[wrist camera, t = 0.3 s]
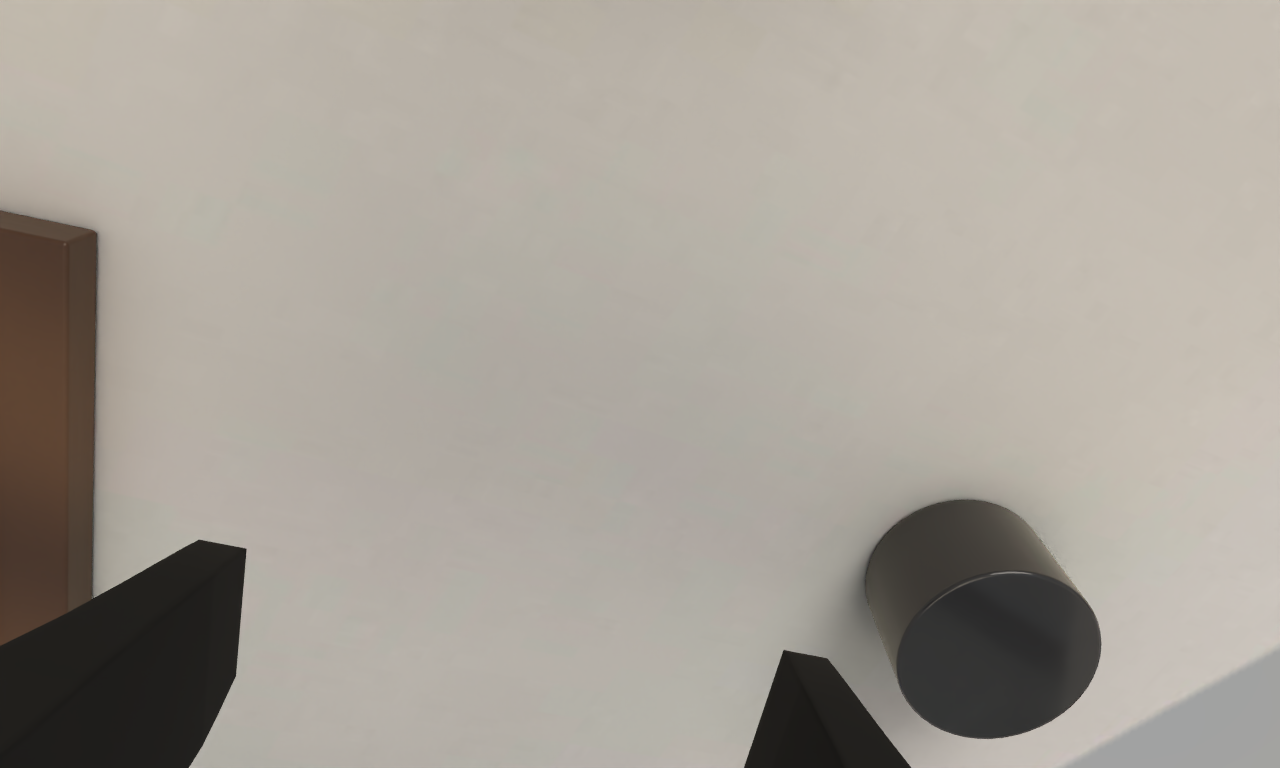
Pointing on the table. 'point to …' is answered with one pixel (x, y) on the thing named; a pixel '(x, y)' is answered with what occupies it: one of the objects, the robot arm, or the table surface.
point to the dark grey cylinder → (980, 620)
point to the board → (45, 420)
